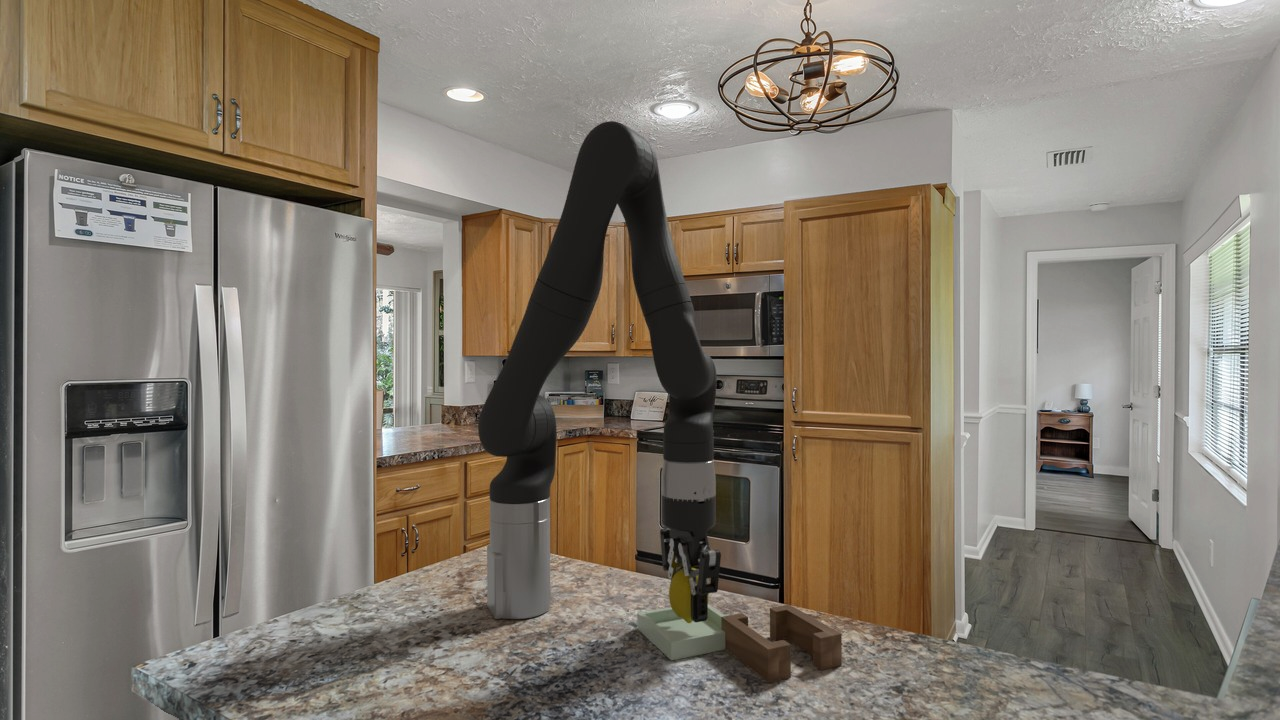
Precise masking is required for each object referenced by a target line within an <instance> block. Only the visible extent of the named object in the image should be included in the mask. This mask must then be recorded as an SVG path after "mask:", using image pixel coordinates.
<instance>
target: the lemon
mask: <svg viewBox="0 0 1280 720" xmlns="http://www.w3.org/2000/svg"><path fill="white" fill-rule="evenodd" d="M691 569H692V570H697V569H696V568H695V567H693V568H691ZM696 582H697V585H698V576H696ZM691 594H692V592H691V588H690V582H689V578H687V577H686V576H685V573H684V568H683V569H681V570H679V571H678V572H676V573H675V575H674V576H673V578H672V580H671V579H670V584H669V589H668V599H669V604H670V607H671V608H672V610H673V611H674V613H675V614H676V615H677V616H678V617H680V618H682V619H684V620H685V621H686V622H687V623H691V622H692V621H693V620H692V619H691ZM709 595H710V593H709V594H708V601H709V599H710V596H709Z"/></svg>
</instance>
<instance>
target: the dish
mask: <svg viewBox="0 0 1280 720" xmlns="http://www.w3.org/2000/svg"><path fill="white" fill-rule="evenodd" d="M636 614H637V630H638V631H639V632H640V633H641V634H642V635H643V636H644V637H646V638H647V639H648V640H649V641H650V642H651V643H652V644H653V645H654V646H655V647H656V648H658V650H660V651H661V652H662V653H663V654H664V655H665V656H666V657H667V658H668V659H669V660H670V661H676V660H680V659H686V658H690V657H695V656H700V655H704V654H705V655H707V654H709V653H714V652H719V651H723V650H725V632H724V631H723V630H721V617H723V616H727V615H726V614H725V613H723V612H721V611H719V610H718V609H717V608H715V607H714V606H713V605H711V604H709V603H708V618H707V620H706V621H701V622H694V621H692V622H691V623H687V622H686V621H685V620H684V619H682V618H680V617H678V616H677V615H676V614H675V613H674V611H673V610H672V608H671V606H670V607H665V608H663V607H662V608H657V609H653V610H647V611H641V612H637V613H636ZM725 651H726V650H725Z"/></svg>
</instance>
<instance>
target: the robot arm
mask: <svg viewBox="0 0 1280 720" xmlns="http://www.w3.org/2000/svg"><path fill="white" fill-rule="evenodd" d="M657 158H658V157H657V154H656V151H655V149H654V148H653V146H652V144H651V143H650V142H649V141H648V140H647V138H645V137H644V136H643V135H641V134H639V133H638V132H637V131H635V130H633V129H632V128H630V127H628V126H627V125H626V124H623V123H622V122H618V121H613V120H611V121H610V120H608V121H605V122H601V123H599V124H598V125H596V126H595V127H594V128H592V129H591V130H590V131H589V133H588V134H587V135H586V136H585V138H584V140H583V142H582V143H581V146H580V148H579V150H578V153H577V157H576V160H575V164H574V167H573V171H572V175H571V179H570V183H569V187H568V191H567V195H566V197H565V198H566V199H565V203H564V206H563V209H562V213H561V216H560V217H559V221H558V223H557V226H556V228H555V230H554V234H553V237H552V239H551V242H550V245H549V247H548V250H547V252H546V253H547V254H546V256H545V259H544V262H543V263H542V266H541V269H540V271H539V272H538V275H537V277H536V281H535V283H534V287H533V288H532V292H531V294H530V297H529V299H528V302H527V306H526V308H525V309H526V310H525V312H524V314H523V317H522V319H521V323H520V325H519V328H518V329H517V333H516V335H515V337H514V340H513V342H512V344H511V348H510V350H509V352H508V355H507V358H506V359H505V362H504V363H503V365H502V368H501V370H500V372H499V374H498V376H497V377H496V380H495V381H494V383H493V386H492V387H491V390H490V391H489V394H488V396H487V398H486V399H485V402H484V404H483V406H482V408H481V411H480V414H479V419H478V425H477V426H478V427H477V431H478V433H477V434H478V437H479V438H478V439H479V442H480V444H481V446H482V447H483V449H484V451H486V452H487V453H488V454H490V455H491V456H494V457H500V458H501V457H502V458H506V461H505V464H504V466H503V467H502V469H500V471H499V473H498V474H496V475H495V476H494V477H493V478H492V479H491V481H490V484H489V544H488V545H487V547H486V588H487V589H486V598H487V599H486V601H487V602H486V603H487V604H486V605H487V608H488V609H489V611H490V613H491V615H492V617H493V619H495V620H500V619H507V620H508V619H509V620H521V619H529V618H530V619H531V618H534V617H537V616H540V615H543V614H545V613H547V611H549V610H550V609H551V596H552V592H551V486H552V483H553V481H554V477H555V473H556V458H557V433H558V432H557V420H556V419H557V418H556V414H555V411H554V409H553V407H552V404H551V403H550V402H549V401H548V399H547V398H545V397H544V396H543V395H540V393H541V391H542V389H543V386H544V384H545V382H546V380H548V377H549V375H550V374H551V373H552V371H553V370H554V368H555V367H556V366H557V365H558V364H559V363H560V362H561V361H562V359H563V358H564V357H565V356H566V355H567V353H569V351H570V350H571V349H572V348H573V347H574V345H576V343H577V341H578V340H579V339H580V337H581V336H582V334H583V332H584V331H585V329H586V328H587V325H588V323H589V321H590V318H591V316H592V312H594V308H595V307H596V303H597V301H598V299H599V295H600V292H601V290H602V289H601V288H602V283H603V275H604V256H605V255H604V254H605V242H606V237H607V235H606V234H607V231H608V228H609V225H610V224H611V223H610V222H611V219H612V217H613V214H614V212H615V210H616V207H617V205H618V208H619V210H620V212H621V214H622V217H623V219H624V222H625V225H626V229H627V233H628V237H629V245H630V257H631V258H630V259H631V272H632V279H633V286H634V288H635V293H636V296H637V299H638V303H639V306H640V309H641V312H642V316H643V318H644V321H645V324H646V326H647V328H648V332H649V340H650V346H651V347H650V348H651V351H652V357H653V362H654V367H655V372H656V374H657V377H658V380H659V382H660V384H661V387H662V388H663V389H664V391H665V392H666V393H667V394H668V396H669V397H668V416H667V417H666V418H667V419H666V420H665V423H664V425H663V426H664V427H663V432H662V433H663V434H662V438H663V439H662V441H663V442H662V443H663V445H662V449H663V450H662V451H663V452H662V453H663V454H662V455H663V457H662V458H663V460H662V462H663V463H662V469H661V524H662V526H664V527H665V528H661V529H660V533H659V537H660V548H661V549H660V550H661V559H662V560H661V562H662V569H663V571H664V572H667V576H668V579H669V580H670V581H671V580H672V578H673V576H674V575H675V573H676V572H678V571H679V570H681V569H683V568H684V573H685V576H686V577H687V578H689V582H690V588H691V592H692V594H691V619H692V620H693V621H694V622H701V621H706V620H707V618H708V604H709V600H708V594H709V595H710V594H715V593H717V592H718V589H719V580H720V579H719V578H720V568H721V559H722V554H721V551H720V550H719V549H712V548H711V547H710V543H709V539H708V531H709V530H711V529H712V528H713V527H715V525H716V522H717V513H716V508H717V507H716V506H717V502H716V500H717V499H716V498H717V497H716V495H717V491H716V490H717V487H716V486H717V483H716V479H717V478H716V476H717V475H716V469H715V460H714V457H715V455H714V453H715V451H714V450H715V449H714V447H715V446H714V445H715V443H714V442H715V441H714V440H715V438H714V434H715V433H714V415H715V405H716V396H717V368H716V365H715V362H714V360H713V358H712V357H711V356H710V355H709V354H708V353H707V352H706V351H704V350H703V348H702V344H701V342H700V337H699V335H698V332H697V329H696V325H695V323H696V312H695V308H694V305H693V301H692V298H691V296H690V292H689V289H688V287H687V285H688V284H687V282H686V280H685V278H684V275H683V271H682V269H681V264H680V262H679V258H678V256H677V252H676V247H675V244H674V242H673V237H672V233H671V230H670V226H669V221H668V217H667V212H666V206H665V203H664V202H665V201H664V194H663V191H662V183H661V176H660V174H661V173H660V169H659V163H658V159H657ZM691 568H698V569H696V570H692V569H691ZM696 576H698V585H697V582H696Z"/></svg>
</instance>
